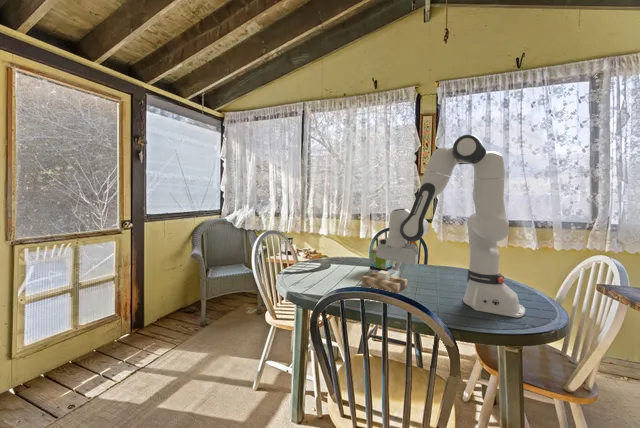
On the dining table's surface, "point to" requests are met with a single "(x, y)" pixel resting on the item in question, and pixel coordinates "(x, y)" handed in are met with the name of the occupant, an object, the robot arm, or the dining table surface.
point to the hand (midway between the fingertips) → (395, 270)
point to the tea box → (379, 263)
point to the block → (384, 275)
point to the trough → (385, 283)
